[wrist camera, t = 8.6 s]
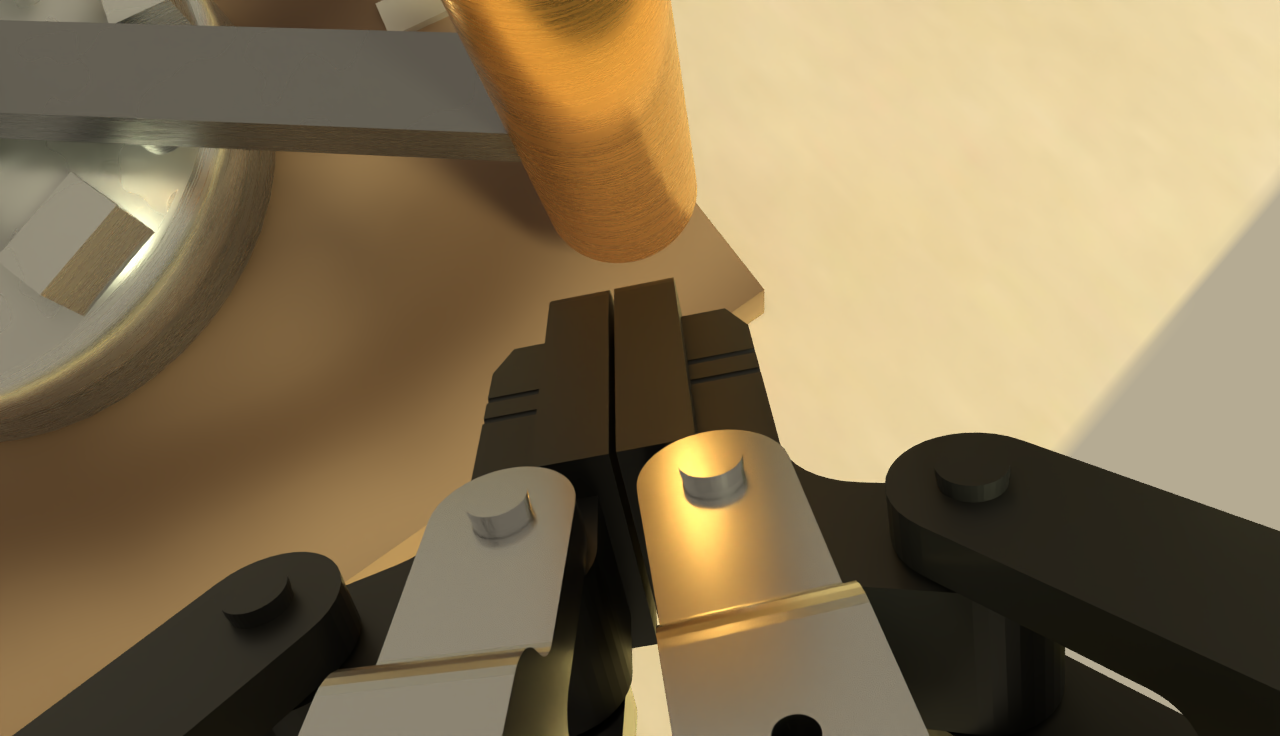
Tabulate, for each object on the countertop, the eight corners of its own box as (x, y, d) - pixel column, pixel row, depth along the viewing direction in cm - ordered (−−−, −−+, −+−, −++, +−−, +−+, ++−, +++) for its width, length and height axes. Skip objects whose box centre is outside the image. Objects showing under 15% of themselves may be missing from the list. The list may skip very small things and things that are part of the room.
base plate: (-482, 139, 28) (-560, 107, 26) (261, -331, 29) (231, -389, 27) (-185, 975, 21) (-265, 1003, 19) (763, 312, 22) (764, 286, 21)
